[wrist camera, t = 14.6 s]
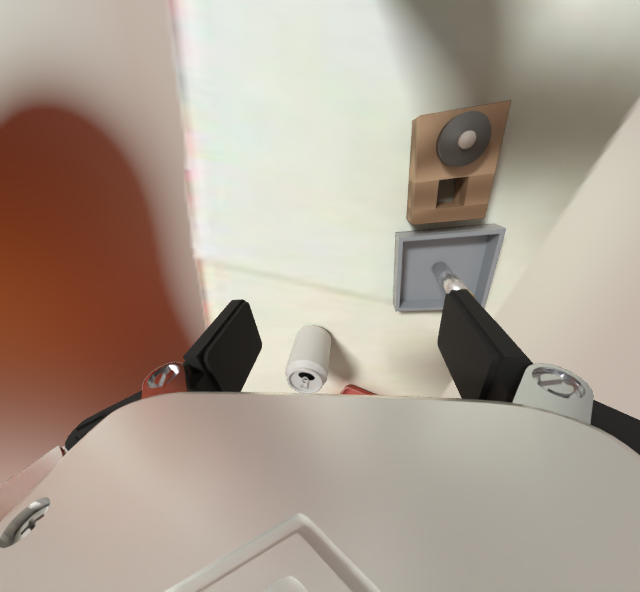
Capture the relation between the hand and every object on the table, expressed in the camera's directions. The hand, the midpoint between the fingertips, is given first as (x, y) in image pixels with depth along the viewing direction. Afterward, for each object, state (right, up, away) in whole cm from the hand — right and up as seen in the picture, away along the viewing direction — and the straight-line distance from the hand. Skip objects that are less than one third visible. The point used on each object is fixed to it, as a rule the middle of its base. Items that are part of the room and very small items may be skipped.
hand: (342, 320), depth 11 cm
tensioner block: (+16, +18, +20) cm, 31 cm away
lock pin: (+19, +6, +27) cm, 33 cm away
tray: (+19, +6, +27) cm, 33 cm away
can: (-2, -7, +38) cm, 39 cm away
